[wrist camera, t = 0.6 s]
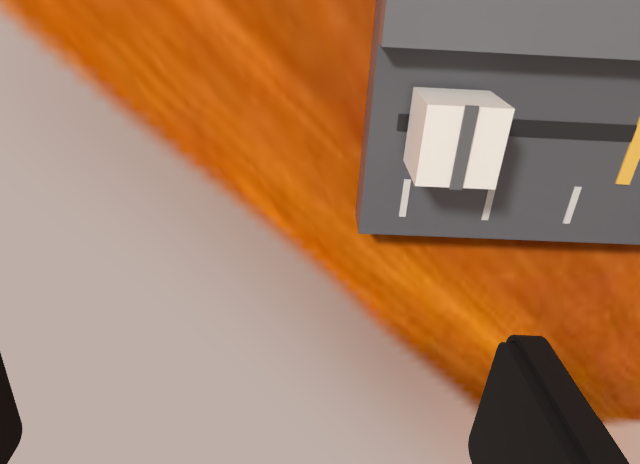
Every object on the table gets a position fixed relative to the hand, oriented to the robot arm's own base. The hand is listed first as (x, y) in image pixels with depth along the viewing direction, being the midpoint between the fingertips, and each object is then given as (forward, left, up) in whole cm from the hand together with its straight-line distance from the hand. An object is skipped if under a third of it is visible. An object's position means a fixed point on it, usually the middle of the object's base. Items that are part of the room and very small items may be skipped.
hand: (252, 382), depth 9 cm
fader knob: (-8, 0, -19) cm, 21 cm away
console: (-14, 0, -22) cm, 26 cm away
